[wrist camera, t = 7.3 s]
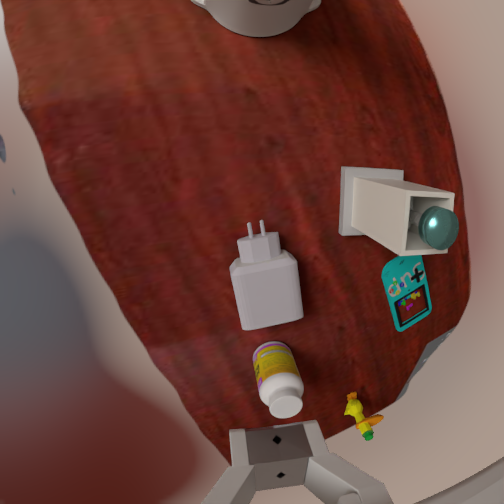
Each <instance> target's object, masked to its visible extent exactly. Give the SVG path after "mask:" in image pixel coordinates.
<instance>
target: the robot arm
mask: <svg viewBox="0 0 504 504" xmlns="http://www.w3.org/2000/svg"><path fill="white" fill-rule="evenodd" d="M191 1H192V2H193V3H194V4H196V5H198V6H200V7H202V8H204V9H206V10H207V11H209V12H210V14H211V15H212V16H213V17H214V18H215V19H216V20H217V21H218V22H219V23H220V24H221V25H222V26H224V27H225V28H227V29H229V30H231V31H233V32H235V33H238V34H242V35H246V36H252V37H268V36H274V35H277V34H280V33H283V32H285V31H287V30H289V29H291V28H292V27H293V26H295V25H296V24H297V23H298V22H299V20H300V19H301V18H302V17H303V16H304V15H305V14H306V13H308V12H310V11H313V10H315V9H316V8H318V7H319V5H320V3H321V0H191ZM229 435H230V446H231V457H232V467H228V468H227V469H226V471H225V472H224V473H223V475H222V476H221V478H220V479H219V480H218V482H217V483H216V484H215V486H214V487H213V488H212V490H211V491H210V492H209V494H208V495H207V496H206V498H205V499H204V500H203V502H202V503H201V504H249V503H250V501H251V500H252V498H253V496H254V494H255V492H256V491H260V490H267V489H274V488H281V487H289V486H297V485H303V484H304V486H305V487H306V488H307V489H308V490H310V491H311V492H312V493H313V494H314V495H315V496H316V497H318V498H319V499H320V500H321V501H322V502H324V503H325V504H393V502H392V500H391V498H390V495H389V494H388V491H387V489H386V487H385V485H384V483H382V482H381V481H379V480H377V479H375V478H374V477H372V476H370V475H369V474H367V473H365V472H364V471H362V470H360V469H359V468H357V467H355V466H354V465H352V464H351V463H349V462H347V461H346V460H344V459H343V458H341V457H340V456H338V455H337V454H335V453H329V450H328V448H327V445H326V443H325V440H324V437H323V435H322V432H321V430H320V427H319V424H318V422H317V421H316V420H312V421H305V422H297V423H291V424H284V425H277V426H272V427H260V428H246V429H245V430H244V429H231V430H230V432H229ZM414 504H504V457H502V458H501V459H499V460H498V461H496V462H495V463H493V464H491V465H490V466H488V467H486V468H485V469H483V470H481V471H479V472H478V473H476V474H474V475H473V476H471V477H469V478H467V479H465V480H463V481H461V482H459V483H458V484H456V485H454V486H452V487H450V488H448V489H446V490H443V491H441V492H439V493H437V494H435V495H433V496H431V497H428V498H426V499H424V500H422V501H419V502H417V503H414Z"/></svg>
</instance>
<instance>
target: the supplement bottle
mask: <svg viewBox="0 0 504 504" xmlns="http://www.w3.org/2000/svg"><path fill="white" fill-rule="evenodd" d="M253 364H254V369H255V374H256V379H257V384H258V389H259V394H260V398H261V400H262V401H263V402H264V403H265V404H266V405H268V406H269V409H270V412H271V414H272V415H273V416H275V417H277V418H289V417H292V416H294V415H296V414H297V413H298V412H299V411H300V410H301V408H302V405H303V404H302V400H301V396H302V394H303V391H304V386H303V382H302V380H301V377H300V374H299V372H298V369H297V366H296V364H295V361H294V358H293V355H292V353H291V350H290V349H289V347H288V346H287V345H285V344H284V343H281V342H277V341H271V342H267V343H265V344H263V345H261V346H260V347H258V348H257V350H256V351H255V353H254V355H253Z"/></svg>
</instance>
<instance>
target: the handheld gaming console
mask: <svg viewBox="0 0 504 504" xmlns="http://www.w3.org/2000/svg"><path fill="white" fill-rule="evenodd" d="M382 281H383V284H384V288H385V291H386V295H387V298H388V302H389V305H390V309H391V312H392V316H393V320H394V324H395V328H396V330H397V331H399V332H401V331H403V330H405V329H407V328H408V327H410V326H411V325H413V324H415V323H416V322H418V321H419V320H421V319H423V318H424V317H426V316H427V315H429V314H430V312H431V310H432V306H431V300H430V294H429V289H428V284H427V279H426V274H425V270H424V265H423V261H422V256H421V255H410V256H398V257H396V258H394V259H393V260H391V261H389V262H388V263H387V264H386V265H385V267H384V268H383V271H382ZM421 287H422V289H423V294H424V298H425V303H426V309H424V310H423V311H421V312H419V313H418V314H416V315H415V316H413V317H412V318H410V319H408V320H407V321H405V322H403V323H402V322H401V318H400V314H399V310H398V307H397V302H398V304H399V306H400V305H402V304H403V305H406V303H405V300H407V299H408V298H410V297H411V299H412V298H414V299H416V296H417V295H418V297H419V296H420V293H419V292H418V293H417V291H418V290H419V289H420V288H421ZM405 297H406V298H405ZM411 306H413V304H410V305H409V306H407V307H406V308H407V311H408V310H409V307H411Z"/></svg>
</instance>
